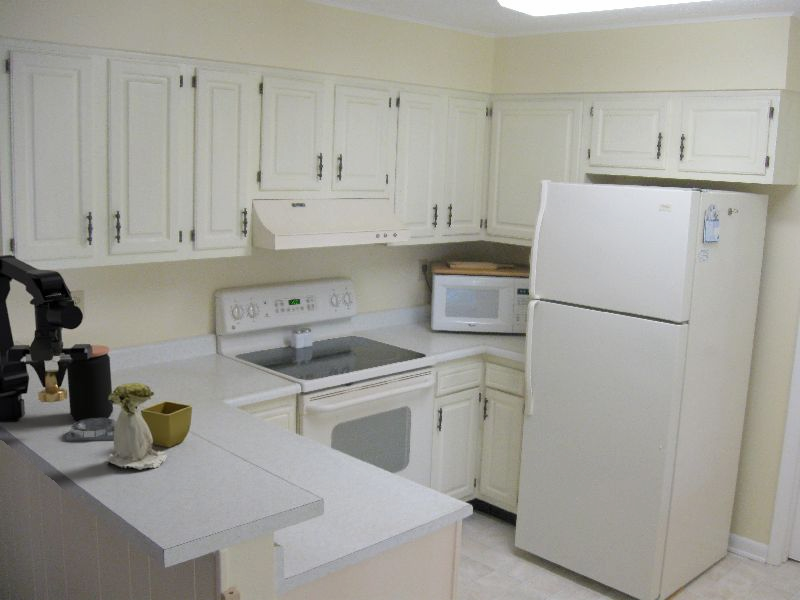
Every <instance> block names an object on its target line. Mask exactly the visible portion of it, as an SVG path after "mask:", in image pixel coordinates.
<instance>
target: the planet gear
mask: <svg viewBox="0 0 800 600" xmlns="http://www.w3.org/2000/svg"><path fill="white" fill-rule="evenodd" d="M44 377H45V387H44V389H42V390H41V391H38V392H37V394H38V395H37V397H38V401H40V403H49V404H51V403H52V404H53V403H56V402H62V401H65V399H66V400H67V399H68V390H67V389H65V388H64V387H58V369H48V370H45V371H44Z"/></svg>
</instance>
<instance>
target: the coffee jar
mask: <svg viewBox="0 0 800 600" xmlns="http://www.w3.org/2000/svg"><path fill="white" fill-rule="evenodd" d="M90 345H91V346H92V350H93V355H92V356H91V357H90V358H89V359H87V360H73V361H72V362H71V363H69V365H68V367H67V370H66V373H67V383H68V384H67V385H68V398H69V399H68V400H69V401H68V402H69V412H70V416H71V417H72V419H73V420H74V421H76V422H78V421H80V420H84V419H90V418H110V417H111V416H112V414H113V411H114V404H112V403H111V402H109V400H108V397H109V395H110V394H111V393H113V388H112V373H111V372H112V371H111V358H110V356H109V355H108V354H109V352H110V347H108V346H106V345H99V344H93V345H92V344H90Z"/></svg>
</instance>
